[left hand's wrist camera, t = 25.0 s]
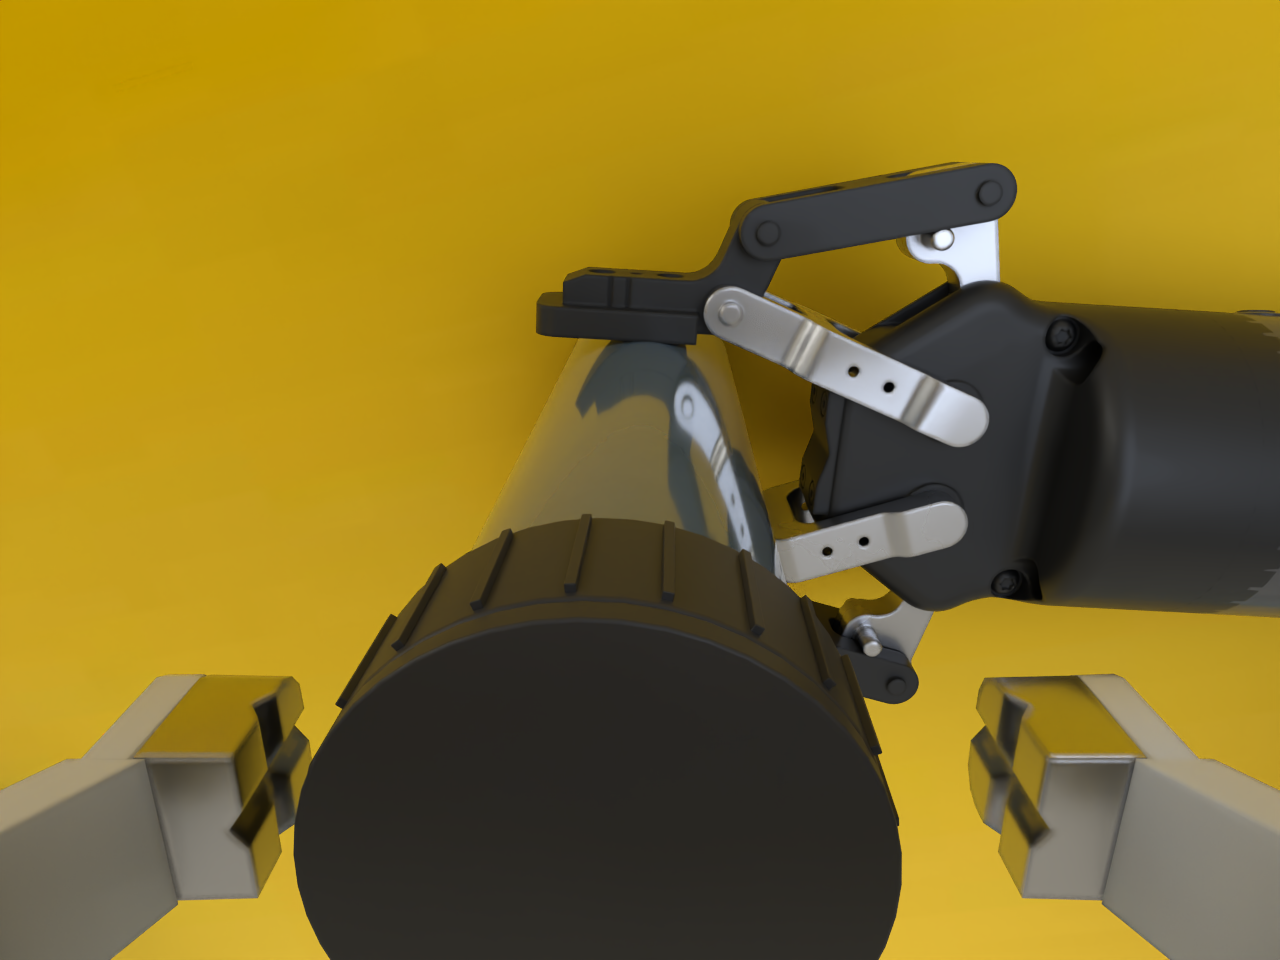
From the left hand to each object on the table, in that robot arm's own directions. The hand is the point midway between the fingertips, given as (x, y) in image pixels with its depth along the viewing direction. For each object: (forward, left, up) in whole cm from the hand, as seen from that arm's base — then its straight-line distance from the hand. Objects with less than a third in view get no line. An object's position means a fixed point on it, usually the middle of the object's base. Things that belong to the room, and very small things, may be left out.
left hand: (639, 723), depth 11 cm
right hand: (-2, 0, -12) cm, 12 cm away
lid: (0, 0, +2) cm, 2 cm away
